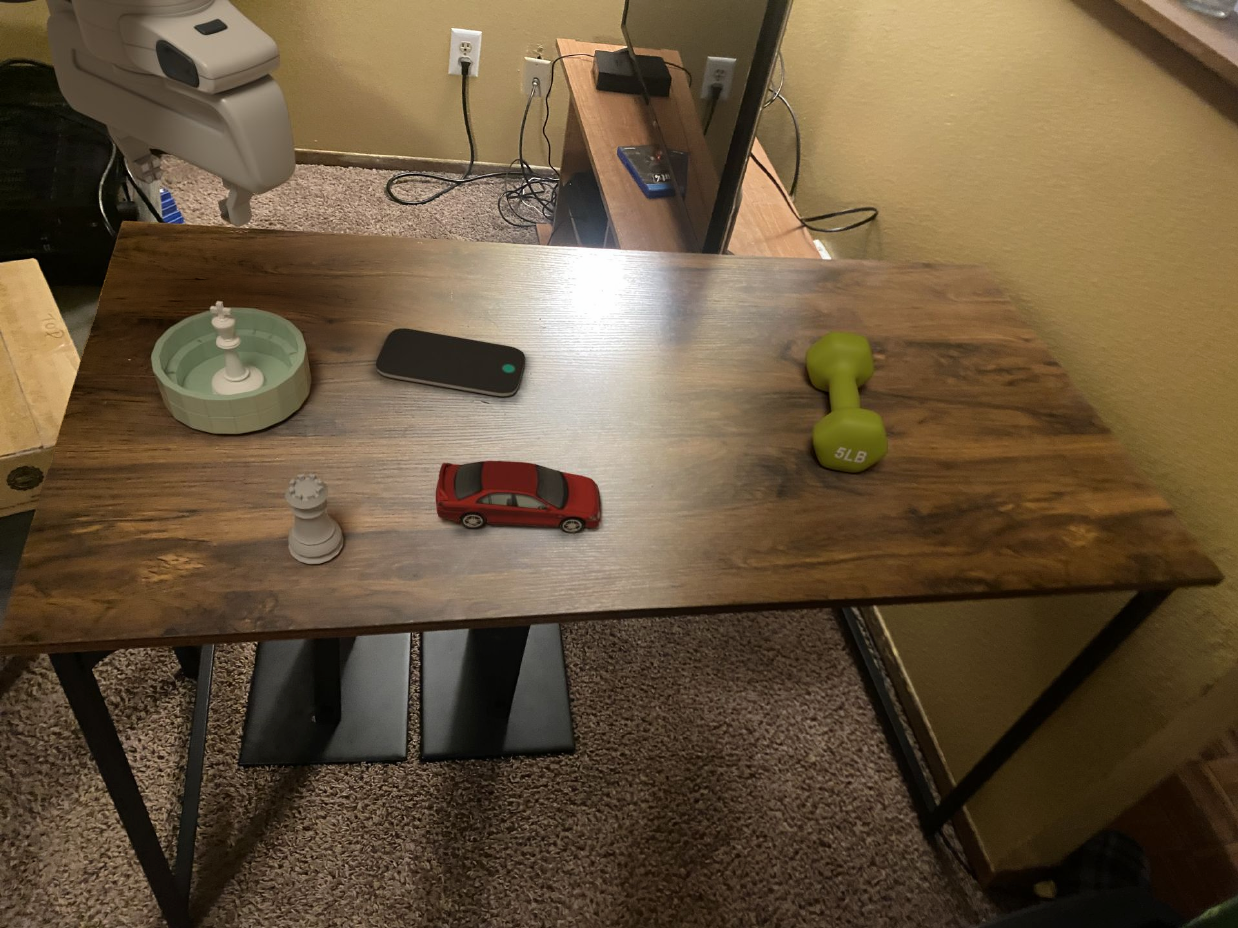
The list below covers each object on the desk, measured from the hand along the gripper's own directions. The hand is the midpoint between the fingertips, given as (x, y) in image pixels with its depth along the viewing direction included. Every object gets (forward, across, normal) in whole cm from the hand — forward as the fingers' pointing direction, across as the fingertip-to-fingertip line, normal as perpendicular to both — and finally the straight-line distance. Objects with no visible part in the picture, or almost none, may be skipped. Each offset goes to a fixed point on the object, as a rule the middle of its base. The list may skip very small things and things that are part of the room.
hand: (192, 199), depth 67 cm
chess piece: (+20, 0, 0) cm, 21 cm away
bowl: (+21, 0, 0) cm, 21 cm away
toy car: (+21, +31, +3) cm, 38 cm away
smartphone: (+21, +14, +16) cm, 30 cm away
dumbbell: (+21, +53, +33) cm, 66 cm away
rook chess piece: (+21, +19, -10) cm, 30 cm away
